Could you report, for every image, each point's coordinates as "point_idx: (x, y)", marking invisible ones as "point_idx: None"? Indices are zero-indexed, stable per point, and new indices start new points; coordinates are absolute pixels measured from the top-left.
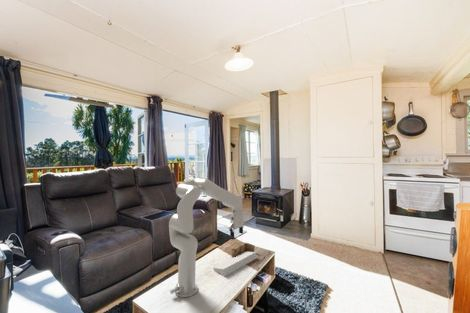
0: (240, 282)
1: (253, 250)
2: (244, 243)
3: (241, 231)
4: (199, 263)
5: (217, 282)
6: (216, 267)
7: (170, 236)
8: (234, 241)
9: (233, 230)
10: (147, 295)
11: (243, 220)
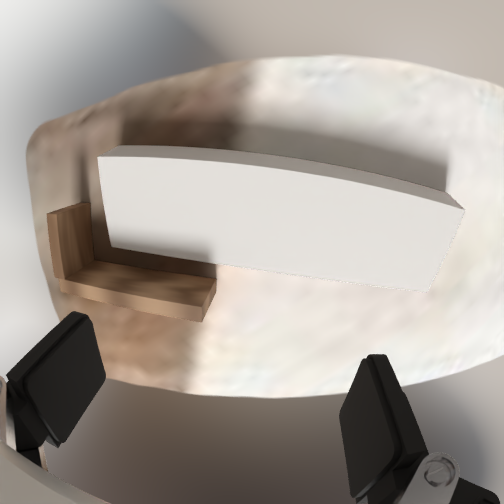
0: (434, 85)
1: (75, 206)
2: (72, 291)
3: (72, 356)
4: None
5: (490, 196)
6: (427, 277)
7: None
8: None
9: (431, 492)
10: None
11: None
